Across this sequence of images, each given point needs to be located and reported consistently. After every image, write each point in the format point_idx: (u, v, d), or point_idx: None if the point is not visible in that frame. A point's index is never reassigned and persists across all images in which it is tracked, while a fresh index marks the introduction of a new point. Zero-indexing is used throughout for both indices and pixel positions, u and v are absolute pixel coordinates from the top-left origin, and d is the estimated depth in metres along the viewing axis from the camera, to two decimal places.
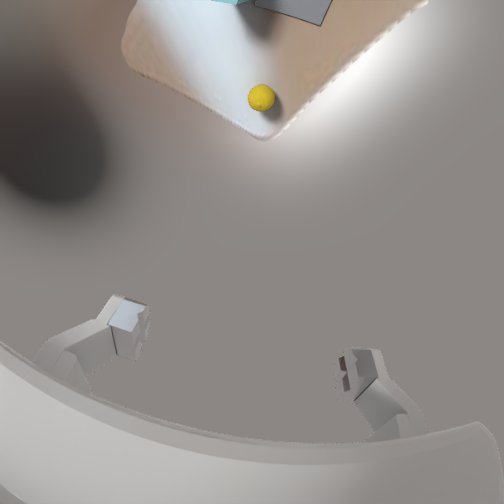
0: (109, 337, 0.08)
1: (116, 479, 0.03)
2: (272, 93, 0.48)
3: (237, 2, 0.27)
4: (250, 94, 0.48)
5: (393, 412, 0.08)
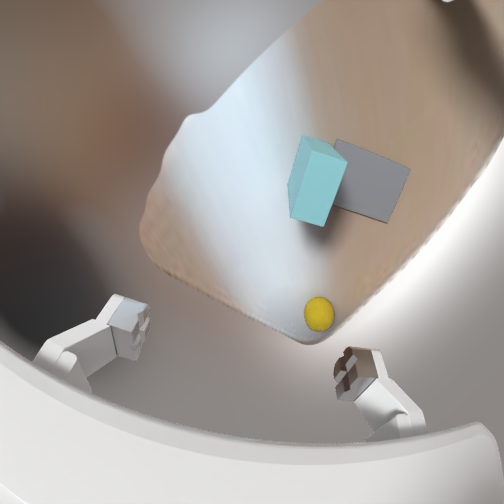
0: (109, 337, 0.08)
1: (116, 479, 0.03)
2: (332, 309, 0.47)
3: None
4: (309, 315, 0.46)
5: (393, 412, 0.08)
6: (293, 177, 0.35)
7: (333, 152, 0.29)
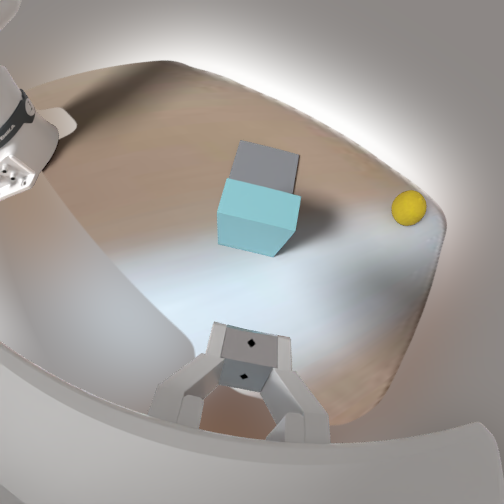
0: (220, 369, 0.08)
1: (116, 479, 0.03)
2: (400, 194, 0.39)
3: None
4: (410, 215, 0.37)
5: (292, 411, 0.07)
6: (260, 245, 0.34)
7: None
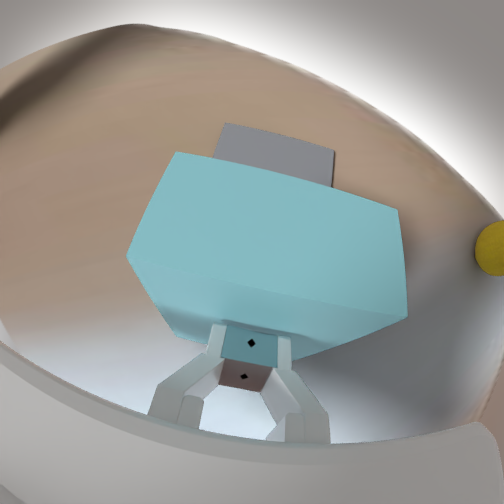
0: (220, 369, 0.08)
1: (116, 479, 0.03)
2: (492, 225, 0.18)
3: None
4: None
5: (292, 411, 0.07)
6: None
7: None
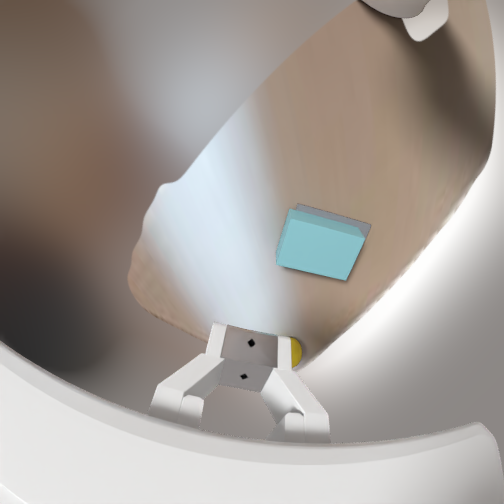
0: (220, 369, 0.08)
1: (116, 479, 0.03)
2: (300, 349, 0.52)
3: None
4: None
5: (292, 411, 0.07)
6: (307, 257, 0.41)
7: (339, 223, 0.41)
